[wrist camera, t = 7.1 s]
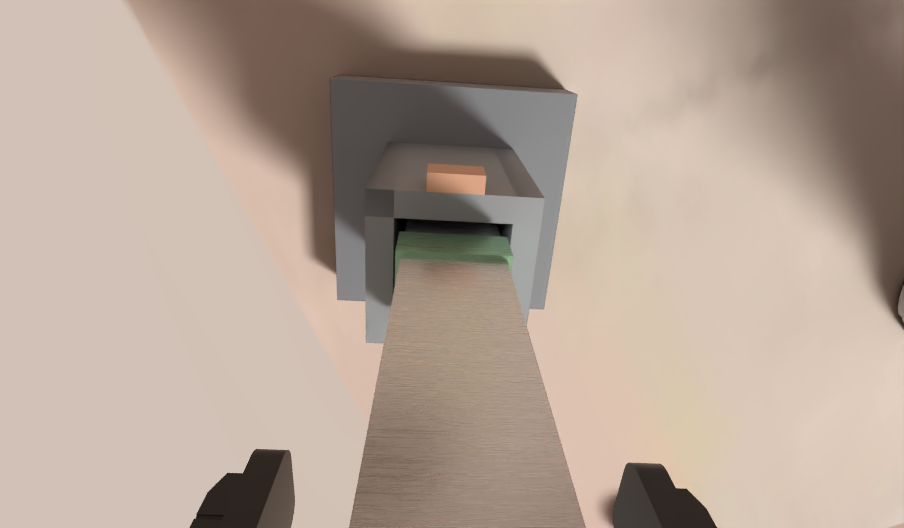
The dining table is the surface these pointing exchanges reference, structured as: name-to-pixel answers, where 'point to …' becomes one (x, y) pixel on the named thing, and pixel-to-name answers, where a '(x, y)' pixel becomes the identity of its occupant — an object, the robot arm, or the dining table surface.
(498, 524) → the column
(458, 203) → the stand
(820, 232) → the dining table surface
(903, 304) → the canister
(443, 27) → the dining table surface
